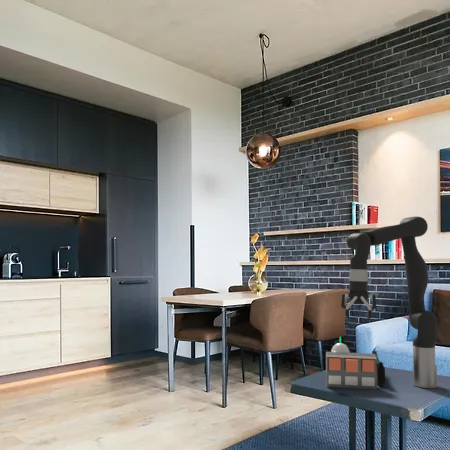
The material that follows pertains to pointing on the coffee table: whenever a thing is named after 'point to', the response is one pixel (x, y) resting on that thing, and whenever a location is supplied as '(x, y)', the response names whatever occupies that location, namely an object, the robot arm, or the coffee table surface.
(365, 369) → the switch
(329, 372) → the dark grey block
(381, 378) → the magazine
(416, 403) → the coffee table surface
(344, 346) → the smoothie
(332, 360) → the switch
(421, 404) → the coffee table surface
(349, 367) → the switch
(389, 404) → the coffee table surface
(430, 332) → the robot arm
